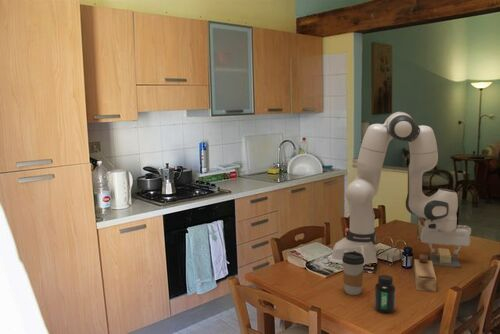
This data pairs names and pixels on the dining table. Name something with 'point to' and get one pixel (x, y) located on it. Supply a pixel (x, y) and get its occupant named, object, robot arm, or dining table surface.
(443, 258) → the beige rectangular block
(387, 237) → the dining table surface
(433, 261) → the mat
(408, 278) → the dining table surface
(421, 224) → the coffee box
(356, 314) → the dining table surface
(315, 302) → the dining table surface
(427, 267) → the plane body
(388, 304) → the supplement bottle
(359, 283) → the coffee cup
